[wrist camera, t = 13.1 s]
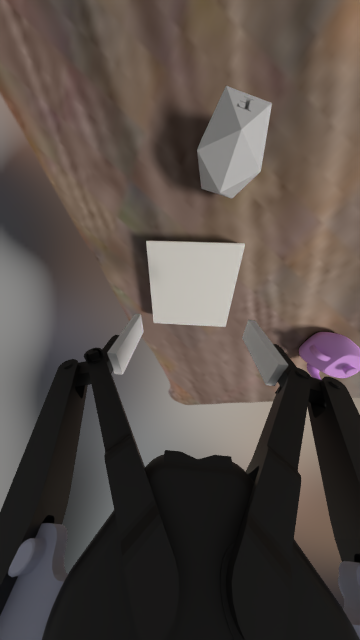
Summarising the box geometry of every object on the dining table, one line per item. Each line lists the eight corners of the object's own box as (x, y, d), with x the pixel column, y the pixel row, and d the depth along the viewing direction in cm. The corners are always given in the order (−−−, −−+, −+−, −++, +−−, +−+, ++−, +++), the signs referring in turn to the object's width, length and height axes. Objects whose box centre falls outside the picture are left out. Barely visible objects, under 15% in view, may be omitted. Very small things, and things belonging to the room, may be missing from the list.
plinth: (151, 240, 29) (146, 240, 25) (238, 242, 28) (245, 243, 24) (157, 315, 38) (153, 322, 35) (222, 318, 37) (225, 326, 34)
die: (260, 137, 21) (310, 67, 12) (234, 210, 25) (256, 197, 17) (207, 118, 20) (219, 30, 12) (190, 196, 25) (190, 175, 16)
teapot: (311, 321, 36) (347, 346, 28) (351, 336, 38) (397, 364, 29) (273, 357, 43) (292, 385, 35) (308, 369, 45) (334, 398, 37)
